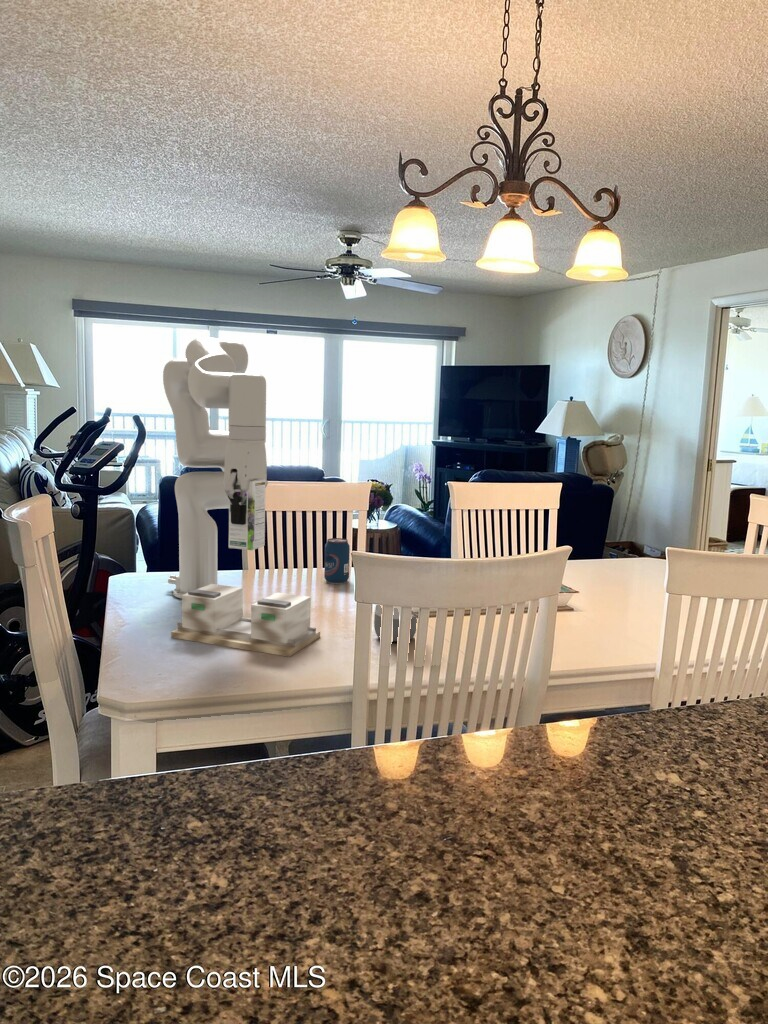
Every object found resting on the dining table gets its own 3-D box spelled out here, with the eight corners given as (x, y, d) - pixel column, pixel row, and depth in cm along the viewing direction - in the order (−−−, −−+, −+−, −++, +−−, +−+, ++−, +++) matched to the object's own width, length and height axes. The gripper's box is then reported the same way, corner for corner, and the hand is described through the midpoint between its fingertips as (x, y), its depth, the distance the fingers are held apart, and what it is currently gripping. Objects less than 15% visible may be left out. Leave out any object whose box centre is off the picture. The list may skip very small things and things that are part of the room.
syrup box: (227, 548, 152) (227, 478, 150) (242, 543, 158) (242, 476, 156) (251, 551, 151) (252, 480, 148) (265, 546, 156) (266, 477, 154)
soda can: (319, 581, 207) (319, 539, 206) (334, 577, 213) (335, 536, 211) (338, 585, 203) (339, 543, 202) (353, 581, 209) (354, 539, 207)
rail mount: (171, 637, 155) (170, 593, 154) (208, 620, 168) (208, 579, 167) (289, 656, 146) (290, 609, 144) (320, 636, 159) (321, 593, 157)
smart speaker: (422, 644, 156) (425, 579, 154) (380, 646, 153) (382, 581, 151) (408, 630, 165) (410, 569, 163) (368, 633, 162) (370, 571, 160)
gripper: (252, 432, 160) (252, 514, 163) (207, 435, 144) (207, 526, 147) (283, 434, 158) (282, 517, 160) (241, 437, 142) (240, 529, 144)
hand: (246, 520), depth 153 cm, fingers closed on syrup box, 5 cm apart
